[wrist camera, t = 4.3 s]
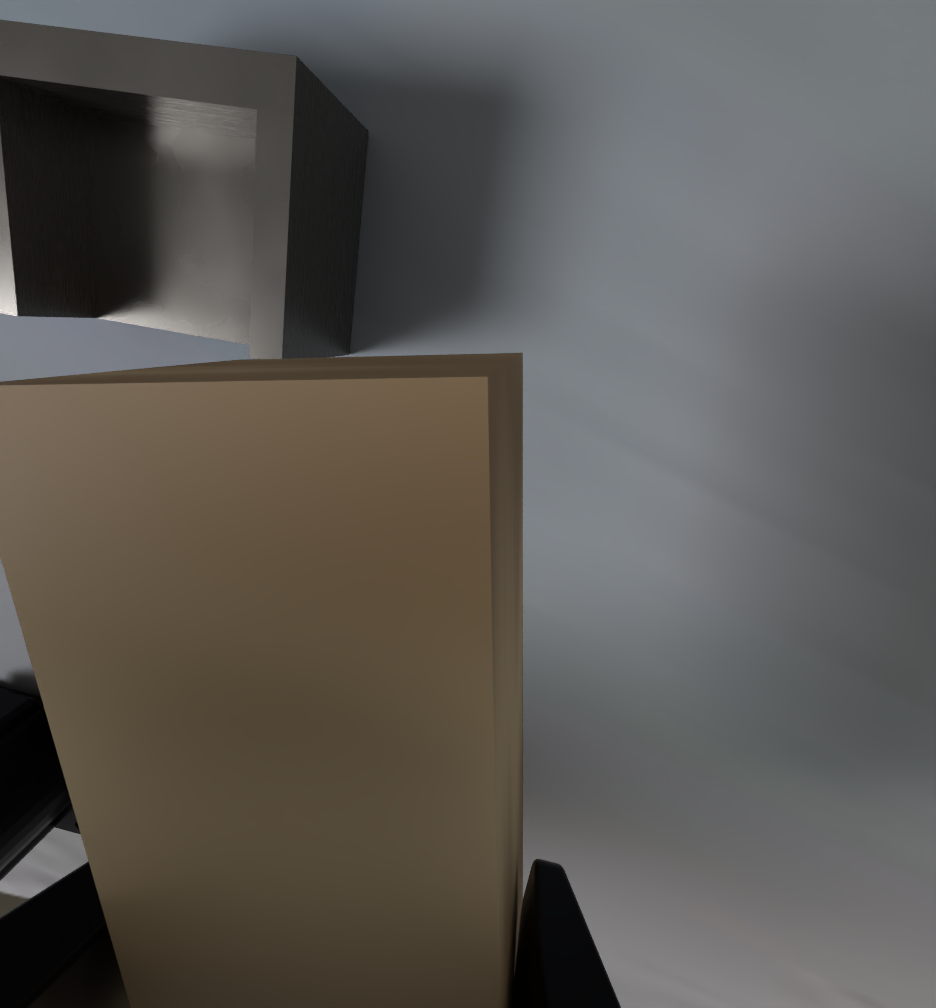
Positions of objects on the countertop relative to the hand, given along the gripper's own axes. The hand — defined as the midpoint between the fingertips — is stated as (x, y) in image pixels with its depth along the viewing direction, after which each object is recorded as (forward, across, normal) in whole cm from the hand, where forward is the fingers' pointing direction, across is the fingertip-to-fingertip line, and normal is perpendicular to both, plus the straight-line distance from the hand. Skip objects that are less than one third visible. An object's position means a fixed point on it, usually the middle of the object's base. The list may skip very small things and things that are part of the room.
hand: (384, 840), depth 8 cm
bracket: (+11, +9, -8) cm, 16 cm away
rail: (+1, 0, 0) cm, 1 cm away
